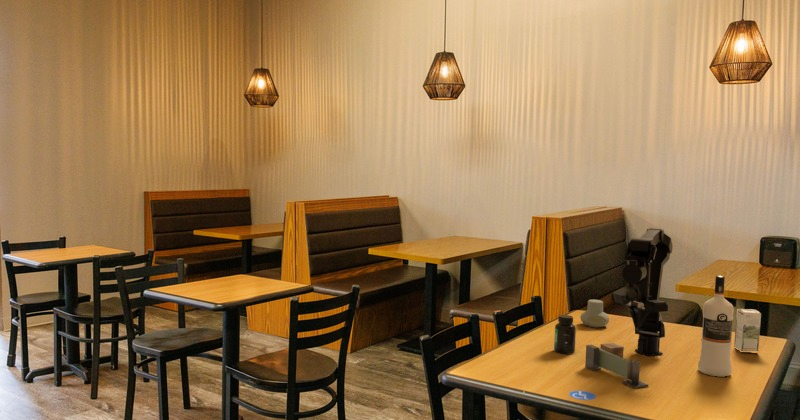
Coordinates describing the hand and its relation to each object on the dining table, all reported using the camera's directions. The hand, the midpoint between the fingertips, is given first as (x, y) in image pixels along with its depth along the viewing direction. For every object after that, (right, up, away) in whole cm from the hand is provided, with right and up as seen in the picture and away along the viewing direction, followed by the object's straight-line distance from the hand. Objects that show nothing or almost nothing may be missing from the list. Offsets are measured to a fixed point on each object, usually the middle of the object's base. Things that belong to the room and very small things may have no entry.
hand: (637, 328), depth 196 cm
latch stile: (-15, -12, -3) cm, 20 cm away
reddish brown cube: (-6, -12, +6) cm, 14 cm away
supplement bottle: (-19, -11, +15) cm, 26 cm away
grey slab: (-11, -12, -8) cm, 18 cm away
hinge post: (-7, -13, -17) cm, 23 cm away
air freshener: (+3, -9, +52) cm, 52 cm away
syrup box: (+46, -12, +21) cm, 51 cm away
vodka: (+22, -13, -4) cm, 26 cm away
